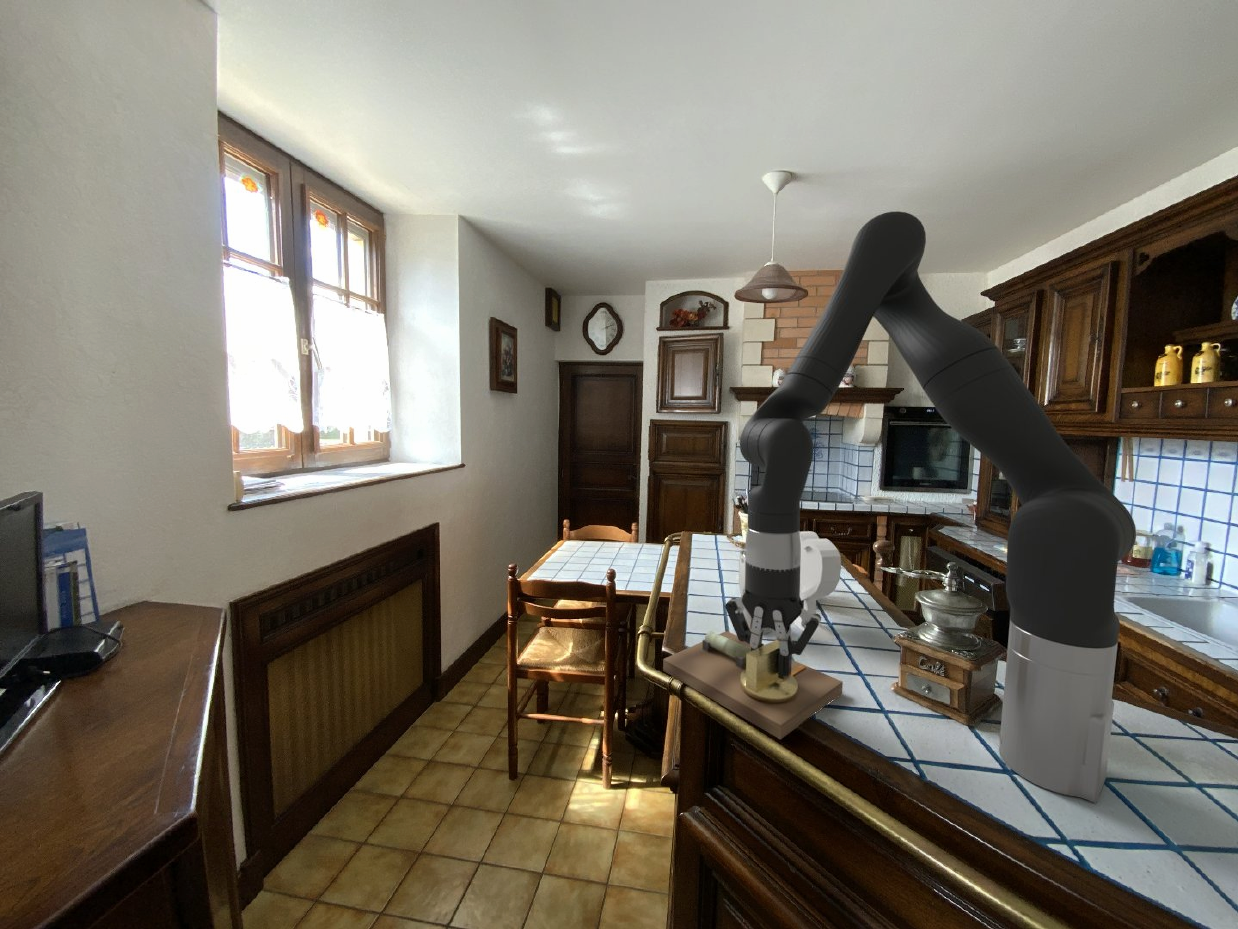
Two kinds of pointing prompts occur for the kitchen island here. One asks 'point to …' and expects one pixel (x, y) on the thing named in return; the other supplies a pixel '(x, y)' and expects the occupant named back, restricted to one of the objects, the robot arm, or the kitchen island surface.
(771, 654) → the wing knob
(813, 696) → the knob and handle board
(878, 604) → the kitchen island surface
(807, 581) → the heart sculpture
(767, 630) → the beer glass
